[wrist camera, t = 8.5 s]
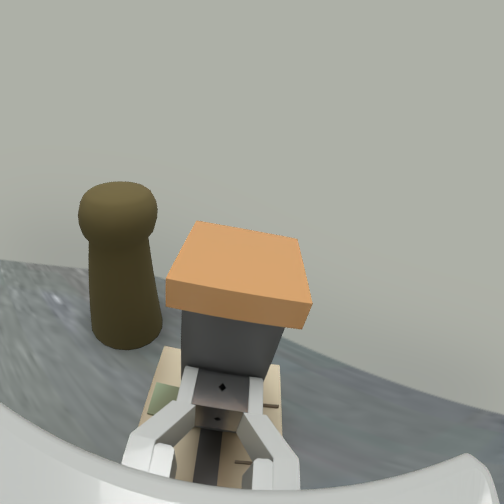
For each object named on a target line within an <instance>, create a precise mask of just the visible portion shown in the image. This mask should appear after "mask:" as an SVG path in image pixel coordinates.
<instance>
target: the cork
mask: <svg viewBox="0 0 504 504" xmlns="http://www.w3.org/2000/svg"><path fill="white" fill-rule="evenodd" d="M157 210H158V209H157V203H156V200H155V198H154V196H153V194H152V193H151V191H150V190H149V189H148V188H146V187H144V186H143V185H141V184H137V183H133V182H109V183H103V184H100V185H97V186H95V187H93V188H91V189H90V190H88V191H87V192H86V193H85V194H84V195H83V197H82V199H81V201H80V207H79V212H78V218H79V225H80V228H81V231H82V233H83V235H84V236H85V238H86V239H87V240H88V241H89V295H90V311H91V322H92V331H93V332H94V334H95V336H96V338H97V339H98V340H100V341H101V342H102V343H103V344H104V345H107V346H109V347H112V348H114V349H122V350H131V349H137V348H141V347H143V346H145V345H147V344H149V343H151V342H152V341H153V340H154V339H155V338H156V337H157V336H158V335H159V333H160V331H161V329H162V315H161V310H160V305H159V300H158V295H157V290H156V284H155V278H154V273H153V266H152V260H151V253H150V246H149V239H148V237H149V236H150V234H151V233H152V232H153V229H154V226H155V223H156V219H157Z"/></svg>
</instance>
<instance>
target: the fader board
mask: <svg viewBox="0 0 504 504" xmlns="http://www.w3.org/2000/svg"><path fill="white" fill-rule="evenodd" d="M180 384H181V349H176V348H172V347H167V346H164V349H163V351H162V354H161V357H160V360H159V363H158V366H157V369H156V372H155V375H154V378H153V381H152V384H151V387H150V390H149V394H148V397H147V400H146V403H145V406H144V409H143V413H142V416H141V419H140V423H139V426H141V425H142V424H143V423H145V422H146V421H147V420H148V419H150V418H151V417H152V416H153V415H155V414H156V413H157V412H158V411H160V410H161V409H162V408H163V407H165V406H166V405H167V404H168V403H170V402H171V401H172V400H174V401H176V400H177V396H178V392H179V388H180ZM263 415H267V416H268V417H269V419H270V420H271V422H272V423H273V425H274V426H275V427H276V429H277V430H278V431H279V433H280V434H281V436H282V416H281V388H280V365H273V364H271V365H270V367H269V370H268V372H267V375H266V377H265V380H264V382H263ZM139 426H138V427H139ZM173 448H174V450H175V456H176V462H177V470H176V477H175V479H178V480H182V481H188V482H193V483H199V484H205V485H212V486H220V487H228V488H239V489H241V488H242V475H243V474H244V473H245V472H246V470H247V469H248V468H249V467H250V465H251V464H252V463H253V462H252V460H251V459H250V457H249V455H248V453H247V451H246V450H245V448H244V446H243V444H242V442H241V441H240V439H239V437H238V435H237V433H231V432H223V431H216V430H210V429H204V428H198V427H193V428H192V429H191V430H190V431H189V432H188V433H187V434H186V435H185V436H184V437H183V438H182V439H181V440H180V441H179V442H178V443H177V444H176V445H175V446H174V447H173Z"/></svg>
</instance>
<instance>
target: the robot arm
mask: <svg viewBox="0 0 504 504" xmlns="http://www.w3.org/2000/svg"><path fill="white" fill-rule="evenodd" d="M194 425H197V426H204V427H210V428H217V429H223V430H229V431H236V433H237V435H238V437H239V439H240V441H241V442H242V444H243V446H244V448H245V450H246V451H247V453H248V455H249V457H250V459H251V460H252V462H253V463H252V464H251V465H250V467H249V468H248V469H247V470H246V472H245V473H244V474H243V475H242V488H241V489H239V488H228V487H220V486H212V485H205V484H199V483H193V482H188V481H182V480H178V479H175V477H176V470H177V462H176V456H175V450H174V448H173V447H174V446H175V445H176V444H177V443H178V442H179V441H180V440H181V439H182V438H183V437H184V436H185V435H186V434H187V433H188V432H189V431H190V430H191V429H192V428H193V427H194ZM0 504H499V500H498V496H497V492H496V489H495V485H494V482H493V479H492V477H491V474H490V472H489V470H488V469H487V467H486V466H485V465H484V464H482V463H481V462H480V461H479V460H477V459H476V458H475V457H473V456H472V455H470V454H468V453H465V454H461V455H459V456H456V457H454V458H451V459H449V460H446V461H444V462H441V463H438V464H435V465H432V466H429V467H426V468H423V469H420V470H417V471H413V472H410V473H406V474H403V475H399V476H395V477H391V478H386V479H382V480H377V481H372V482H367V483H361V484H355V485H348V486H341V487H332V488H321V489H307V490H300V470H299V458H298V457H297V456H296V454H295V453H294V452H293V451H292V449H291V448H290V447H289V445H288V444H287V442H286V441H285V440H284V438H283V437H282V436H281V434H280V433H279V431H278V430H277V429H276V427H275V426H274V425H273V423H272V422H271V420H270V419H269V417H268V416H267V415H263V379H262V378H258V377H249V376H244V375H237V374H229V373H221V372H215V371H210V370H205V369H200V368H196V367H190V366H186V367H185V369H184V372H183V376H182V380H181V384H180V388H179V392H178V396H177V400H176V401H174V400H172V401H171V402H170V403H168V404H167V405H166V406H165V407H163V408H162V409H161V410H160V411H158V412H157V413H156V414H155V415H153V416H152V417H151V418H150V419H148V420H147V421H146V422H145V423H143V424H142V425H141V426H139V427H138V428H137V429H135V430H134V431H133V432H132V433H130V436H129V439H128V443H127V446H126V449H125V453H124V456H123V460H122V463H121V464H120V463H117V462H114V461H111V460H109V459H106V458H103V457H101V456H98V455H96V454H93V453H91V452H88V451H86V450H84V449H82V448H79V447H77V446H75V445H73V444H71V443H69V442H66V441H64V440H62V439H60V438H58V437H57V436H55V435H53V434H51V433H49V432H47V431H45V430H44V429H42V428H40V427H38V426H37V425H35V424H33V423H31V422H30V421H28V420H27V419H25V418H23V417H22V416H20V415H19V414H17V413H16V412H14V411H13V410H11V409H10V408H8V407H7V406H5V405H4V404H3V403H1V402H0Z"/></svg>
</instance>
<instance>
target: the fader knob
mask: <svg viewBox="0 0 504 504" xmlns="http://www.w3.org/2000/svg"><path fill="white" fill-rule="evenodd" d="M312 304H313V303H312V300H311V294H310V290H309V286H308V282H307V277H306V273H305V269H304V265H303V260H302V256H301V252H300V248H299V244H298V240H297V239H294V238H290V237H284V236H278V235H274V234H268V233H263V232H258V231H252V230H246V229H241V228H235V227H230V226H225V225H218V224H213V223H207V222H202V221H196V223H195V224H194V226H193V228H192V230H191V232H190V233H189V235H188V237H187V239H186V241H185V243H184V245H183V246H182V248H181V250H180V252H179V254H178V256H177V258H176V260H175V262H174V263H173V265H172V267H171V269H170V271H169V273H168V275H167V277H166V307H171V308H176V309H180V310H182V323H181V380H182V376H183V372H184V369H185V367H186V366H190V367H196V368H200V369H205V370H210V371H215V372H221V373H229V374H237V375H244V376H249V377H258V378H262V379H263V382H264V380H265V377H266V375H267V372H268V370H269V367H270V365H271V362H272V360H273V357H274V355H275V352H276V350H277V347H278V344H279V342H280V339H281V336H282V333H283V331H284V328H285V327H287V328H296V329H302V328H303V326H304V323H305V321H306V319H307V316H308V314H309V311H310V309H311V306H312ZM194 427H198V428H204V429H210V430H216V431H223V432H231V433H236V431H229V430H223V429H217V428H210V427H204V426H197V425H194Z"/></svg>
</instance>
